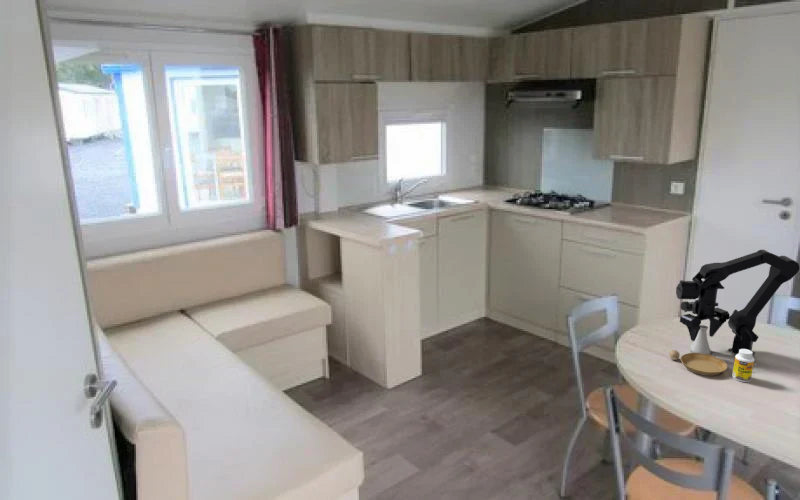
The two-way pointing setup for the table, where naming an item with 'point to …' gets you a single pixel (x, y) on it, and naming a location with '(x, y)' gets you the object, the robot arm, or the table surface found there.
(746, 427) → the table surface
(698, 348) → the flask
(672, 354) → the beige ball
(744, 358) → the supplement bottle
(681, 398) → the table surface
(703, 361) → the plant saucer
